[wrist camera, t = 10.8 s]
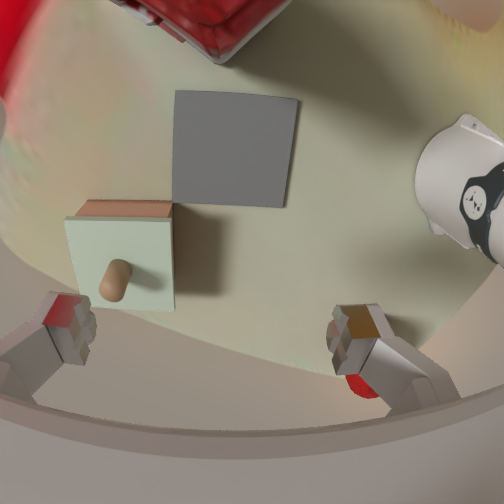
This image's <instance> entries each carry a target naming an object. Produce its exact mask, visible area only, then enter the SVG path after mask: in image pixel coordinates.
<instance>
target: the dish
mask: <svg viewBox="0 0 504 504" xmlns="http://www.w3.org/2000/svg"><path fill="white" fill-rule="evenodd" d="M75 216H102V217H154V218H172V252H173V274H174V278H175V269H174V239H173V203H172V201H160V200H87V202H86V203H85V204H84V205H83V206H82V207H81V208H80V210H79V211H78V212H77V213H76V214H75Z"/></svg>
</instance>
